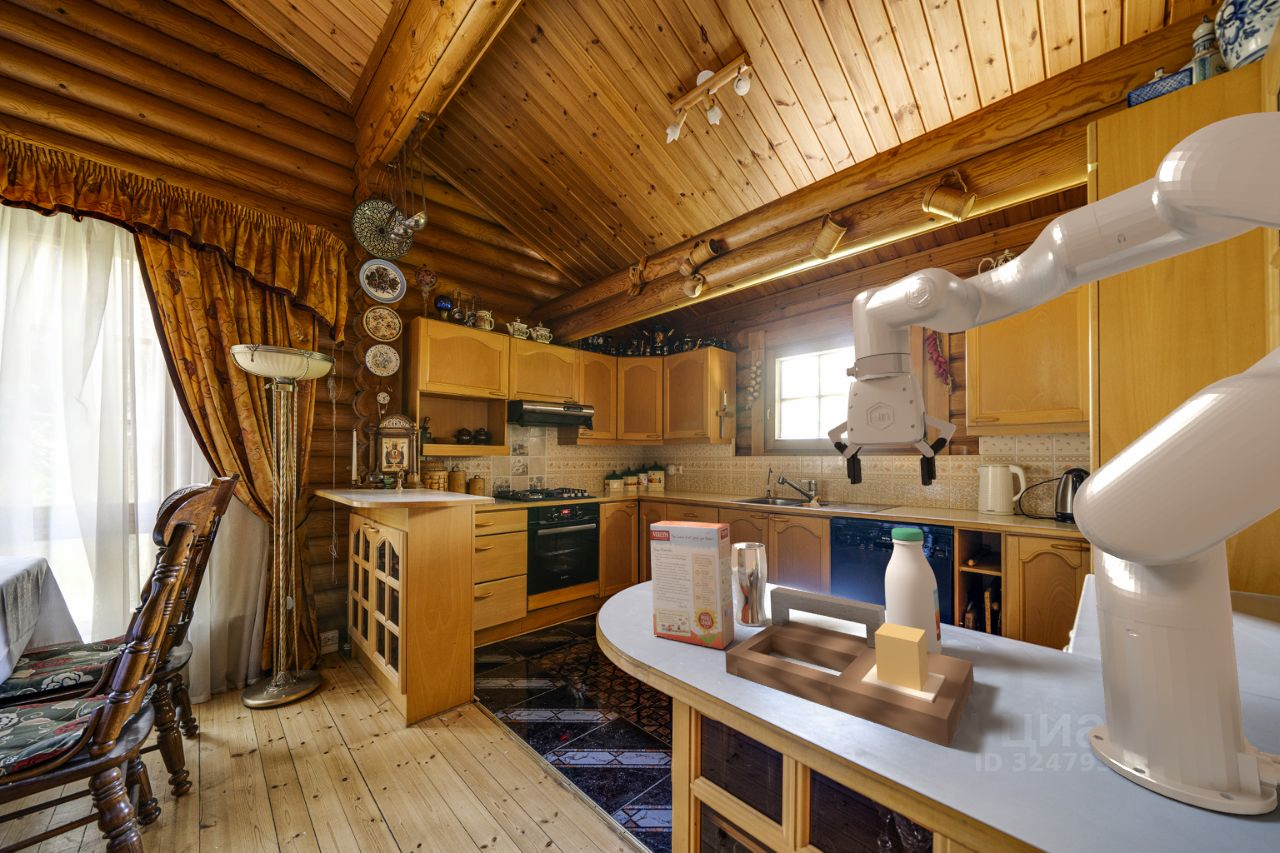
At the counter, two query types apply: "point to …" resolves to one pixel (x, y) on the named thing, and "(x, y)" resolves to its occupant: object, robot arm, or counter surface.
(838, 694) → the brown wooden divided tray
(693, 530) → the cracker box
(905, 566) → the milk bottle
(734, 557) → the beer glass
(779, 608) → the gray bridge block
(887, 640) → the ochre block
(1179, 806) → the counter surface
